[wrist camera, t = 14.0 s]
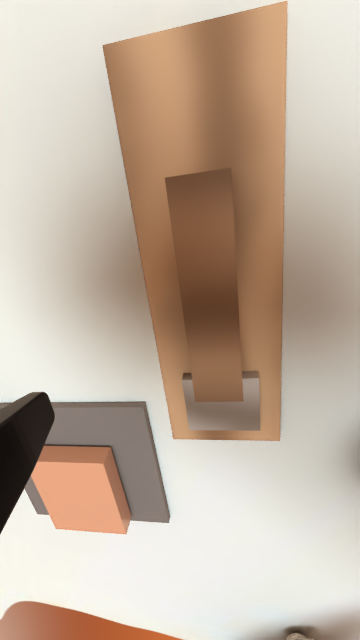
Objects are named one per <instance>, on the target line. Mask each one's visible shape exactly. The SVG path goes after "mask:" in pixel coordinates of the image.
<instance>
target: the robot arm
mask: <svg viewBox="0 0 360 640" xmlns="http://www.w3.org/2000/svg"><path fill="white" fill-rule="evenodd" d="M54 419H55V413H54V410H53V407H52V405H51V402H50V399H49V397H48V395H47V394H46V393H45V392H32V393H29V394H27V395H26V396H24V397H22V398H20V399H18V400H16V401H14V402H13V403H11V404H9V405H7V406H5V407H3V408H1V409H0V534H1V532H2V530H3V528H4V526H5V524H6V522H7V520H8V519H9V517H10V515H11V513H12V511H13V509H14V507H15V505H16V503H17V501H18V499H19V498H20V496H21V494H22V492H23V490H24V488H25V486H26V484H27V482H28V480H29V478H30V476H31V474H32V472H33V470H34V468H35V466H36V464H37V461H38V459H39V457H40V454H41V452H42V449H43V447H44V445H45V442H46V440H47V437H48V435H49V432H50V430H51V428H52V425H53V423H54Z"/></svg>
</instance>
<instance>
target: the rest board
mask: <svg viewBox="0 0 360 640" xmlns="http://www.w3.org/2000/svg"><path fill="white" fill-rule="evenodd" d="M103 51H104V56H105V62H106V67H107V73H108V78H109V84H110V90H111V95H112V101H113V106H114V112H115V117H116V123H117V128H118V134H119V139H120V145H121V151H122V156H123V162H124V167H125V173H126V178H127V184H128V189H129V195H130V200H131V206H132V212H133V217H134V223H135V228H136V234H137V239H138V245H139V250H140V256H141V261H142V267H143V272H144V278H145V284H146V289H147V295H148V300H149V306H150V311H151V317H152V322H153V328H154V333H155V339H156V345H157V350H158V356H159V361H160V367H161V372H162V378H163V383H164V389H165V394H166V400H167V406H168V411H169V417H170V422H171V428H172V433H173V439H200V440H266V441H280V413H281V352H282V292H283V232H284V171H285V111H286V51H287V1H284V2H280V3H276V4H272V5H268V6H263V7H259V8H255V9H251V10H247V11H243V12H239V13H234V14H230V15H226V16H222V17H218V18H214V19H210V20H205V21H201V22H197V23H193V24H189V25H185V26H181V27H176V28H172V29H168V30H164V31H160V32H156V33H152V34H147V35H143V36H139V37H135V38H131V39H127V40H123V41H118V42H114V43H110V44H106V45H103ZM225 168H231V171H232V190H233V209H234V228H235V247H236V266H237V285H238V305H239V324H240V343H241V362H242V371H258V374H259V390H260V431H240V430H189V424H188V418H187V411H186V405H185V398H184V392H183V385H182V377H183V373H191V368H190V361H189V353H188V346H187V339H186V331H185V324H184V317H183V309H182V302H181V295H180V287H179V280H178V272H177V265H176V258H175V250H174V243H173V236H172V228H171V221H170V214H169V206H168V199H167V192H166V184H165V178H166V177H172V176H179V175H185V174H192V173H199V172H205V171H212V170H218V169H225Z"/></svg>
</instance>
